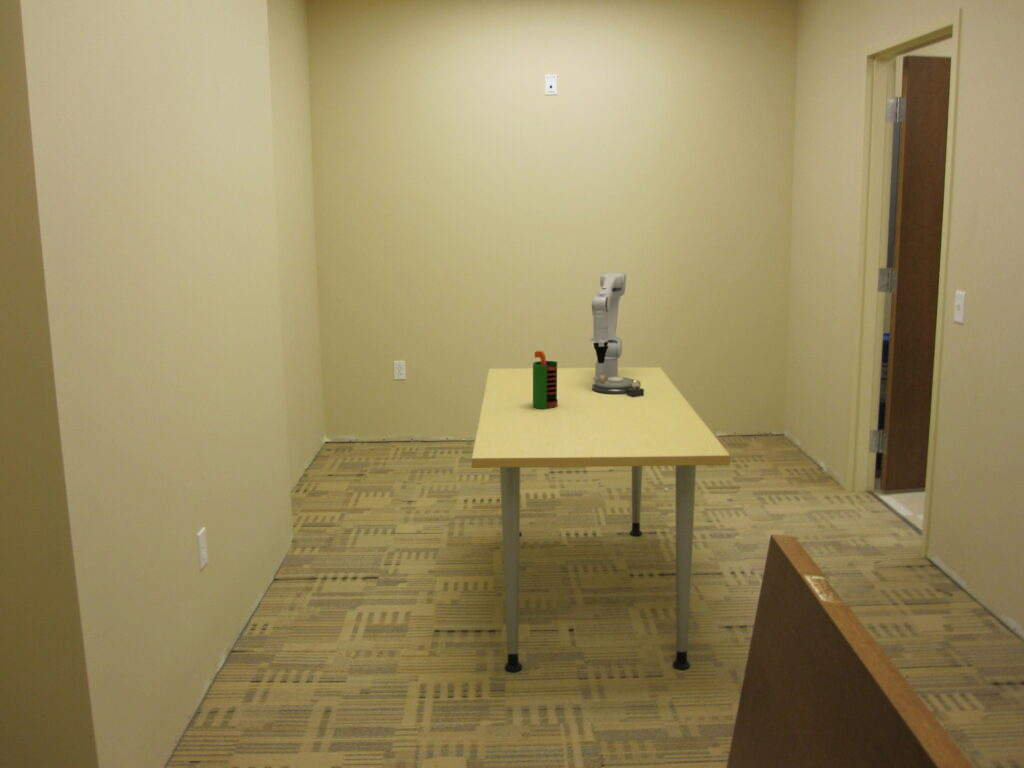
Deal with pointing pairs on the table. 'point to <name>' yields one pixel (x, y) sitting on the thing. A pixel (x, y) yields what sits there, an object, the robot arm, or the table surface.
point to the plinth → (608, 390)
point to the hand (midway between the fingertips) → (600, 362)
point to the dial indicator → (635, 389)
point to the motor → (544, 382)
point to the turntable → (613, 382)
